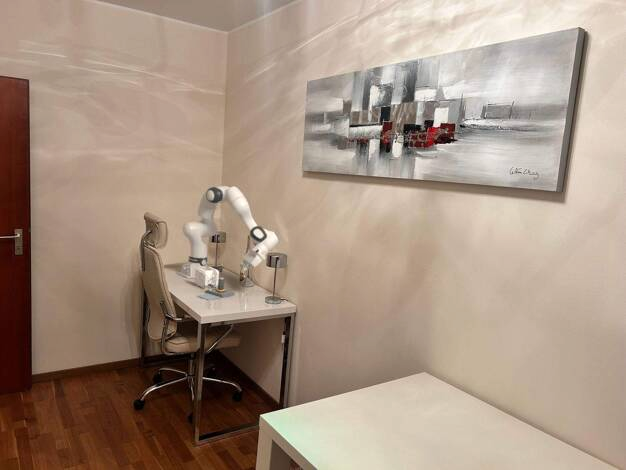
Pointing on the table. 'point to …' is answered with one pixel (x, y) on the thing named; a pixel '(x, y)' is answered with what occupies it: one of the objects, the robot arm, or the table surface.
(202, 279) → the cable organizer
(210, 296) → the mat
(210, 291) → the socket block
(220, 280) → the plug
